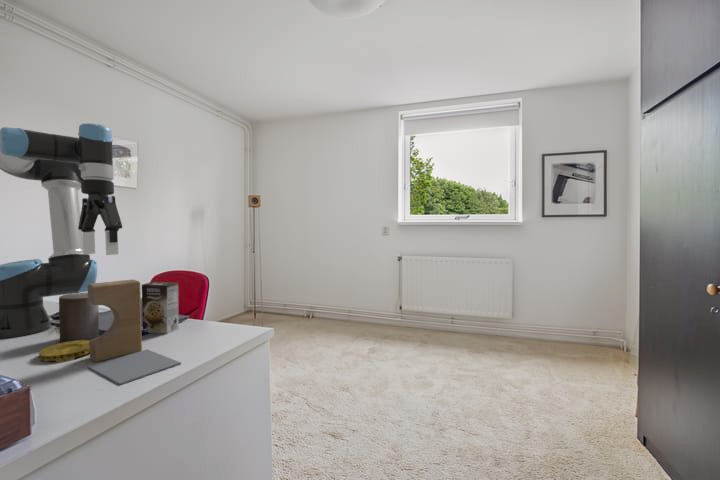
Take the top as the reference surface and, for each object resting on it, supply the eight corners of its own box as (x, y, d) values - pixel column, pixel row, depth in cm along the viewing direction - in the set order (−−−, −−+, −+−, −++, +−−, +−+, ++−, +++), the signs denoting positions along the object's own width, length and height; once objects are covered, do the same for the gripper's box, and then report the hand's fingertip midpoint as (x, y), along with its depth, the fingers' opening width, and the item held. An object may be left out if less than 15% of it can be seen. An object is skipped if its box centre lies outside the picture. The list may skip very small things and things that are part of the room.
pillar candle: (54, 345, 102) (53, 295, 102) (66, 335, 111) (65, 289, 111) (94, 341, 106) (93, 293, 106) (103, 332, 115) (102, 287, 115)
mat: (88, 367, 87) (88, 366, 87) (147, 350, 99) (147, 349, 99) (120, 385, 78) (120, 383, 78) (180, 364, 89) (180, 362, 89)
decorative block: (93, 363, 90) (91, 286, 89) (89, 357, 94) (87, 283, 93) (142, 351, 98) (140, 281, 97) (136, 346, 102) (135, 279, 101)
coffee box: (141, 333, 114) (140, 284, 114) (155, 327, 121) (154, 281, 120) (167, 334, 113) (166, 285, 112) (179, 328, 120) (178, 281, 119)
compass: (27, 361, 91) (26, 353, 91) (72, 346, 103) (72, 338, 103) (64, 365, 89) (64, 357, 89) (106, 348, 101) (106, 341, 101)
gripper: (62, 182, 102) (65, 254, 103) (103, 174, 90) (107, 256, 90) (92, 185, 109) (95, 252, 109) (134, 177, 96) (137, 254, 97)
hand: (100, 254), depth 100 cm, fingers open, 13 cm apart
